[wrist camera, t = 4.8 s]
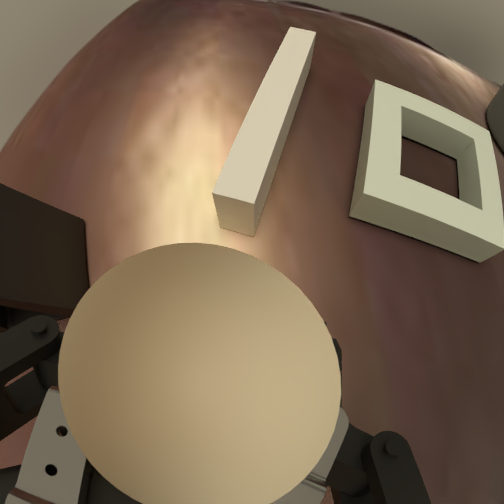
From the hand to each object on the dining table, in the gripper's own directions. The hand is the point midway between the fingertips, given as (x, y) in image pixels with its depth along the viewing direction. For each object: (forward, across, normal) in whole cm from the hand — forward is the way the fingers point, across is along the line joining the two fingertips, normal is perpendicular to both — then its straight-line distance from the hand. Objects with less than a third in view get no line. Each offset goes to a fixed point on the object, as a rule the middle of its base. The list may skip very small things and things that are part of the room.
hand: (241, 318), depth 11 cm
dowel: (+2, 0, +5) cm, 5 cm away
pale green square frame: (+13, -9, -6) cm, 17 cm away
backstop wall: (+13, +2, -6) cm, 14 cm away
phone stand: (+2, +14, +5) cm, 15 cm away
